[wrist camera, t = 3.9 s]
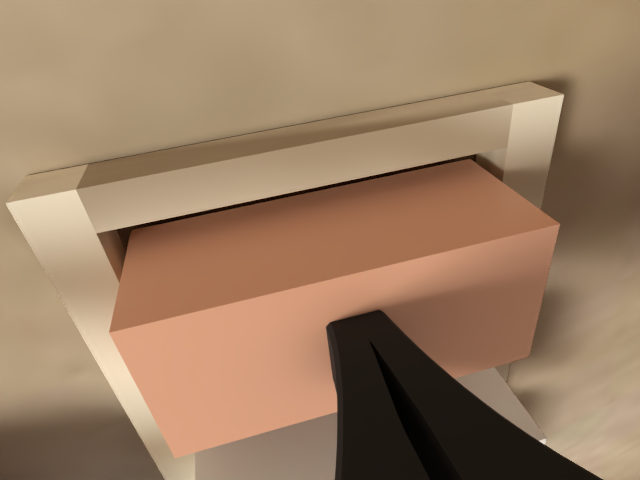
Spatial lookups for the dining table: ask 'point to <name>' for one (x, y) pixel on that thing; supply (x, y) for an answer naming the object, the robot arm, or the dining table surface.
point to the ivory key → (331, 441)
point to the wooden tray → (258, 197)
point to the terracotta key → (324, 294)
